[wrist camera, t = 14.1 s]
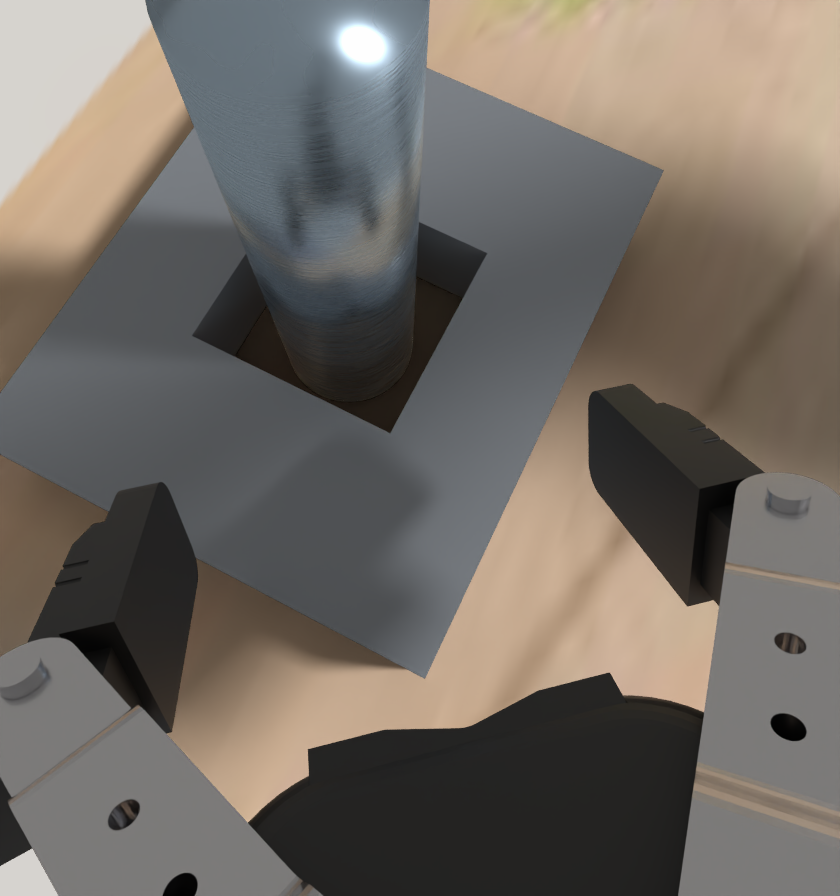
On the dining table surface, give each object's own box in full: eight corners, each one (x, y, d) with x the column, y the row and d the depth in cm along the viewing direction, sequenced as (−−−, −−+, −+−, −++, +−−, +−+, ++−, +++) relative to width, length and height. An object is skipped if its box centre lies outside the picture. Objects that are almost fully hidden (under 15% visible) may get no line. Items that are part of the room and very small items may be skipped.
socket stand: (297, 82, 23) (282, 5, 20) (628, 229, 22) (663, 170, 19) (32, 465, 19) (-33, 437, 16) (420, 669, 18) (424, 678, 15)
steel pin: (325, 268, 21) (239, -157, 10) (433, 318, 21) (476, -60, 9) (264, 367, 20) (87, 25, 9) (377, 422, 20) (346, 141, 8)
